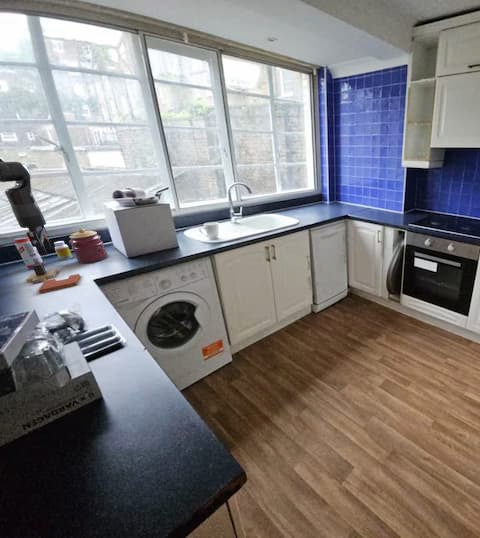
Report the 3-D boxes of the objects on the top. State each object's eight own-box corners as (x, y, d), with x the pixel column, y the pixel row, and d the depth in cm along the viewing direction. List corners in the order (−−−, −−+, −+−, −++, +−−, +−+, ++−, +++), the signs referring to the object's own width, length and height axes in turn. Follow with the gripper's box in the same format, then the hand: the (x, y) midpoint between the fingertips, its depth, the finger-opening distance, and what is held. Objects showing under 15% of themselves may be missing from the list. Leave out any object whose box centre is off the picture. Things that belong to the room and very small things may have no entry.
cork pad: (25, 285, 134) (18, 272, 131) (32, 276, 143) (26, 264, 141) (52, 279, 139) (46, 267, 136) (57, 271, 148) (51, 259, 145)
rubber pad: (40, 293, 126) (38, 290, 125) (46, 283, 135) (44, 280, 134) (76, 285, 132) (75, 282, 132) (80, 276, 141) (79, 273, 141)
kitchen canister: (92, 264, 156) (78, 232, 149) (71, 263, 158) (57, 231, 151) (114, 255, 168) (102, 225, 161) (95, 254, 170) (82, 225, 163)
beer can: (32, 269, 151) (16, 240, 145) (25, 268, 153) (9, 239, 147) (47, 265, 157) (33, 236, 150) (40, 264, 159) (25, 235, 152)
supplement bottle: (74, 257, 167) (67, 241, 163) (62, 260, 163) (54, 244, 159) (70, 256, 169) (63, 240, 165) (58, 259, 165) (50, 242, 161)
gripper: (20, 212, 122) (38, 249, 128) (9, 219, 111) (28, 259, 117) (45, 210, 126) (61, 246, 132) (37, 216, 115) (54, 255, 121)
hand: (46, 252), depth 125 cm, fingers open, 8 cm apart
